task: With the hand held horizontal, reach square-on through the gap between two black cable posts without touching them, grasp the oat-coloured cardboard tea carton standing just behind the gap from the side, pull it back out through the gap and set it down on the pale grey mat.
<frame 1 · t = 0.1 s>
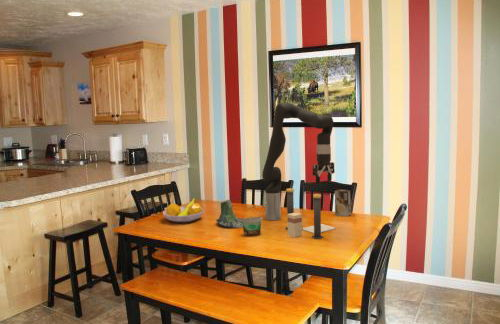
hand: (323, 182, 226), 29 cm above the table, tool pointing down, fingers open, 8 cm apart
mat: (318, 229, 240), on the table
fruit bowl: (185, 219, 271), on the table
gate: (303, 233, 234), on the table
carton: (294, 235, 230), on the table
food container: (253, 235, 233), on the table
coffee box: (342, 215, 271), on the table
tree stump: (232, 225, 256), on the table
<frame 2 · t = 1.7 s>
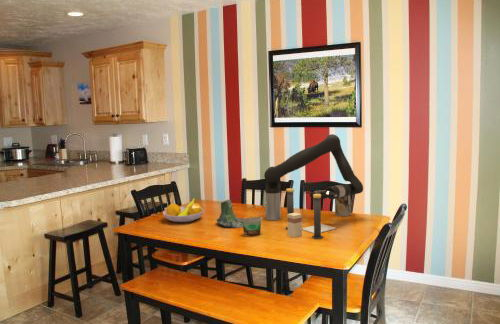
hand: (315, 196, 237), 20 cm above the table, tool horizontal, fingers open, 8 cm apart
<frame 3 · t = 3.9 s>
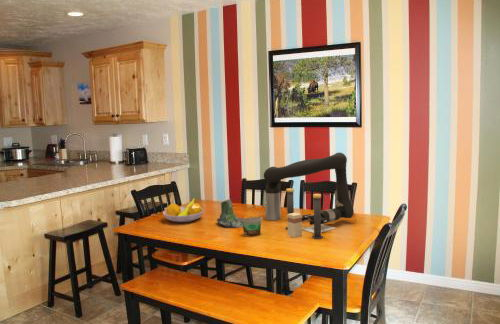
hand: (304, 221, 233), 7 cm above the table, tool horizontal, fingers open, 8 cm apart
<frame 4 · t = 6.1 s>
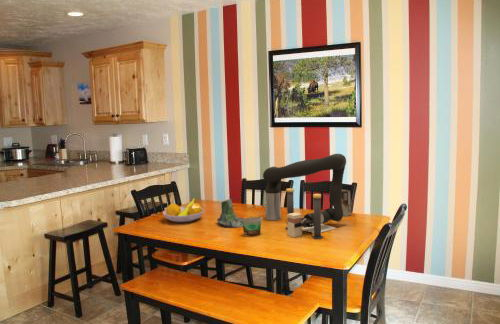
hand: (291, 224, 228), 7 cm above the table, tool horizontal, fingers closed on carton, 5 cm apart
carton: (294, 235, 230), on the table, touching gripper
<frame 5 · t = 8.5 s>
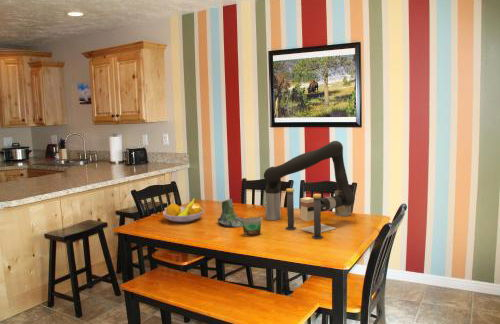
hand: (304, 208, 232), 14 cm above the table, tool horizontal, fingers closed on carton, 5 cm apart
carton: (307, 219, 235), point 7 cm above the table, touching gripper
when the fingers open (8 cm above the table, at t = 10.9 s): carton stays where it is, resting on mat.
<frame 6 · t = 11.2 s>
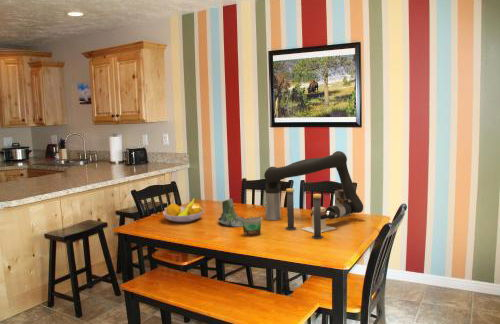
hand: (315, 216, 238), 8 cm above the table, tool horizontal, fingers open, 8 cm apart
carton: (318, 228, 240), point 1 cm above the table, touching mat
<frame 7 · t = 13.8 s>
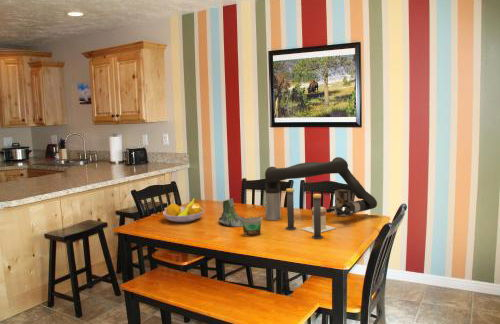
hand: (332, 212, 245), 8 cm above the table, tool horizontal, fingers open, 8 cm apart
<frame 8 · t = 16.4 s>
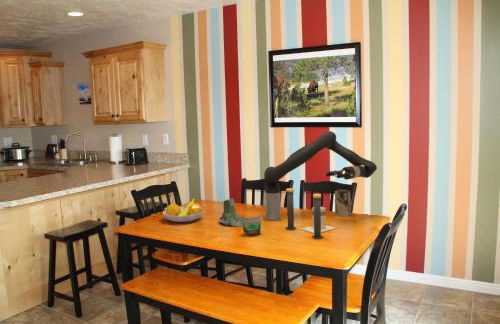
hand: (331, 175, 243), 30 cm above the table, tool horizontal, fingers open, 8 cm apart
at the end: carton inside the target area on the mat (0.2 cm from its centre), point 0.6 cm above the mat's base; carton tilted 0°; the gripper is holding nothing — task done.
